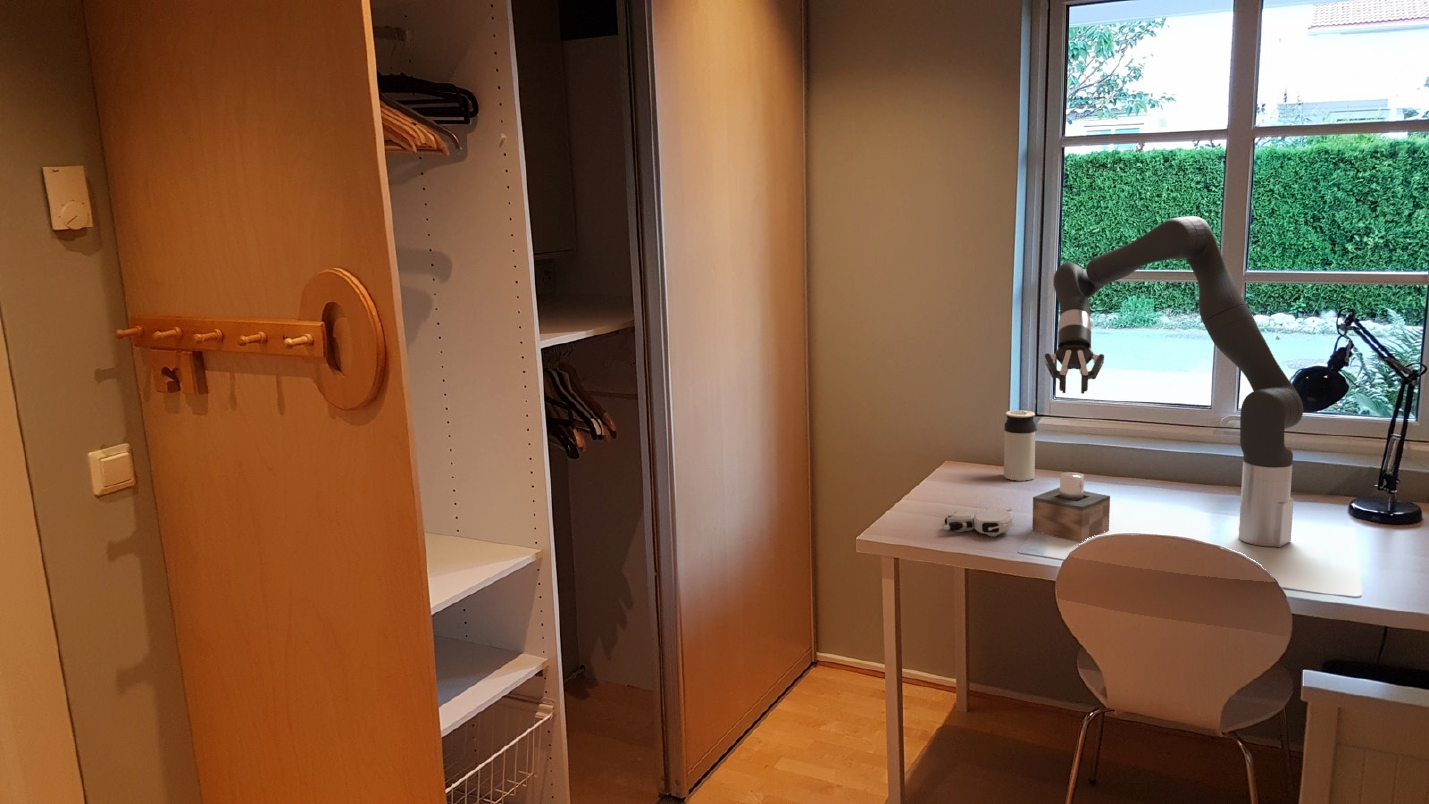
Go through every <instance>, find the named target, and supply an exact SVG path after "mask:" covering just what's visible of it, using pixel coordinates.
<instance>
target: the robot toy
mask: <svg viewBox="0 0 1429 804" xmlns="http://www.w3.org/2000/svg"><path fill="white" fill-rule="evenodd" d="M1011 511H1012V509H1011V508H1010V509H1007V510H1005V509H983V510H980V511H979V512H978V513H976V514H974V512H973V511H954V512H951V513H949V514H948V515H947V516H946V517H945V518H944V524H942V527H941V528H942V529H943V530H947V531H948V530H949V531H950V532H954V531H956V532H957V533H964V532H970V531H972V530H973V529H975V530H976V531H977V532H978V533H980V534H986V535H987V536H988V537H997V536H998V535H1000V534H1002V533H1006V532H1007V531H1008V530H1010V529H1011V527H1012V526H1013V516H1012V514H1011V513H1010V512H1011Z"/></svg>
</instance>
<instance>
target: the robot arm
mask: <svg viewBox="0 0 1429 804" xmlns="http://www.w3.org/2000/svg"><path fill="white" fill-rule="evenodd" d="M1168 260H1186V261H1187V263H1188V265H1189V266H1190V268H1191V270H1192V271H1193V274H1194V276H1195V279H1196V281H1197V284H1198V285H1197V286H1198V311H1199V316H1200V319H1201V321H1202V324H1203V325H1204V327H1205V330H1206V332H1207V334H1208V336H1209V337H1210V339H1211V342H1213V344H1214V346H1216V348H1218V350H1219V351H1220V353H1222V354H1223V355H1224V356H1225V357H1226V358H1227V359H1229V361H1231V362H1232V363H1233V364H1234V365H1235V366H1236V367H1237V368H1238V369H1239V370H1240V371H1241V372H1242V374H1243V375H1244V376H1245V378H1246V379H1247V381H1248V382H1249V386H1250V387H1251V389H1252V392H1250V393H1249V394H1247V395H1246V397H1244V400H1243V402H1242V405H1241V408H1240V414H1239V415H1240V416H1239V418H1240V420H1239V443H1240V444H1239V445H1240V448H1241V451H1242V453H1243V455H1242V457H1243V459H1242V460H1243V462H1242V475H1241V491H1240V492H1241V495H1240V506H1239V507H1240V508H1239V509H1240V510H1239V524H1238V526H1239V527H1238V539H1239V540H1240V541H1242V542H1244V543H1247V544H1250V545H1254V546H1255V545H1256V546H1260V547H1276V548H1282V547H1283V546H1285V545H1286V544H1288V543H1290V542H1291V541H1292V527H1293V526H1292V525H1293V514H1294V498H1293V497H1291V491H1292V488H1291V487H1292V476H1293V474H1292V473H1293V464H1294V462H1293V461H1294V453H1293V451H1292V450H1291V449H1289V448H1288V447H1286V445H1285V430H1286V429H1289V428H1292V427H1295V426H1296V425H1297V424H1298V423H1300V421H1301V419H1302V418H1303V414H1304V405H1303V401H1302V399H1301V397H1300V395H1299V393H1298V392H1297V390H1296V388H1295V387H1294V385H1293V384H1292V382H1291V381H1290V379H1289V378H1288V377H1287V375H1286V374H1285V372H1284V371H1283V369H1282V368H1281V367H1280V365H1279V363H1278V362H1277V360H1276V359H1275V357H1274V354H1273V353H1272V350H1271V348H1270V347H1269V345H1268V343H1267V341H1266V339H1265V337H1264V336H1263V334H1262V332H1261V330H1260V329H1259V327H1258V324H1257V322H1256V320H1255V317H1254V315H1252V312H1251V310H1250V308H1249V305H1248V304H1247V303H1246V301H1245V299H1244V297H1243V296H1242V294H1241V292H1240V291H1239V289H1238V287H1237V285H1236V282H1235V281H1234V278H1233V276H1232V275H1231V273H1230V271H1229V269H1228V266H1227V265H1226V263H1225V262H1226V261H1224V257H1223V255H1222V252H1221V249H1220V247H1219V245H1218V242H1217V240H1216V237H1215V235H1214V232H1213V230H1212V228H1211V226H1210V225H1209V223H1208V222H1207V221H1206V220H1205V219H1203V218H1201V217H1199V216H1193V215H1192V216H1191V215H1190V216H1180V217H1173V218H1169V219H1167V220H1165V221H1163V222H1162V223H1160V224H1158V225H1157V226H1156V227H1153V228H1152V229H1151V230H1149V231H1148V232H1147V233H1145V234H1143V235H1142V236H1140V237H1139V238H1137V239H1135V240H1133V241H1131V242H1129V243H1127V244H1124V245H1123V246H1120V247H1117V248H1116V249H1112V250H1110V251H1108V252H1106V253H1102V254H1101V255H1099V256H1098V255H1097V256H1096V257H1094V258H1092V259H1090V261H1088V262H1087V264H1086V267H1085V268H1082V267H1081V266H1080V265H1079V264H1076V263H1074V262H1064V263H1062V264H1061V265H1059V267H1058V268H1057V269H1056V271H1055V273H1054V277H1053V287H1054V291H1055V294H1056V295H1055V296H1056V297H1057V301H1058V304H1059V320H1058V327H1057V328H1058V329H1057V349H1056V351H1055V353H1052V354H1050V353H1045V354H1044V364H1045V366H1046V368H1047V370H1048V372H1049V374H1050V376H1051V378H1052V379H1058V380H1059V386H1058V389H1059V391H1061V392H1062V394H1067V391H1066V389H1067V387H1066V386H1067V384H1066V383H1067V375H1068V373H1069V370H1074V369H1075V370H1079V374H1080V376H1081V378H1080V379H1081V381H1080V384H1081V386H1080V393H1081V394H1083V395H1084V394H1085V392H1088V387H1089V380H1091V379H1092V380H1095V379H1097V376H1098V375H1099V373H1100V371H1101V369H1102V367H1103V365H1104V362H1105V361H1104V360H1105V354H1103V353H1100V354H1095V353H1094V352H1093V350H1092V321H1091V304H1090V303H1091V302H1090V300H1089V299H1090V298H1092V297H1093V296H1094V295H1095V294H1096V293H1097V292H1099V291H1100V290H1101V289H1102V288H1104V287H1105V286H1106V285H1108V284H1111V283H1114V282H1115V281H1119V280H1121V279H1123V278H1125V277H1128V276H1130V275H1131V274H1133V273H1135V271H1137V270H1138V269H1140V268H1142V267H1144V266H1146V265H1149V264H1154V263H1156V262H1163V261H1168ZM1056 360H1057V361H1058V362H1059V363H1060V365H1061V369H1060V370H1058V369H1057V367H1056V364H1055V362H1056ZM1091 361H1093V366H1092V368H1091V370H1089V371H1088V367H1087V365H1088V364H1089V363H1090V362H1091Z"/></svg>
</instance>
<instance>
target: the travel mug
mask: <svg viewBox="0 0 1429 804" xmlns="http://www.w3.org/2000/svg"><path fill="white" fill-rule="evenodd" d="M1005 415H1006V418H1007V419H1006V421H1005V423H1004V436H1003V438H1004V440H1003V441H1004V442H1003V443H1004V444H1003V445H1004V446H1003V448H1004V451H1003V477H1004V478H1005V479H1006V480H1009V479H1010V481H1013V480H1016V482H1027V481H1026V480H1028V481H1031V480H1033V479H1035V467H1036V466H1035V464H1036V463H1035V461H1036V460H1035V459H1036V457H1035V456H1036V424H1035V421H1034V416H1035V415H1036V414H1035V412H1033V411H1030V410H1021V409H1020V410H1009V411H1008V410H1007V411H1006V412H1005Z"/></svg>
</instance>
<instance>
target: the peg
mask: <svg viewBox="0 0 1429 804" xmlns="http://www.w3.org/2000/svg"><path fill="white" fill-rule="evenodd" d="M1059 475H1060V477H1059V483H1060V484H1059V487H1060V498H1061V499H1066V500H1071V501H1076V502H1077V501H1079V500H1082V499H1083V492H1084V491H1085V490H1084V486H1085V475H1084V473H1080V472H1075V471H1073V472H1072V471H1067V472H1061V473H1060V474H1059Z"/></svg>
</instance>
